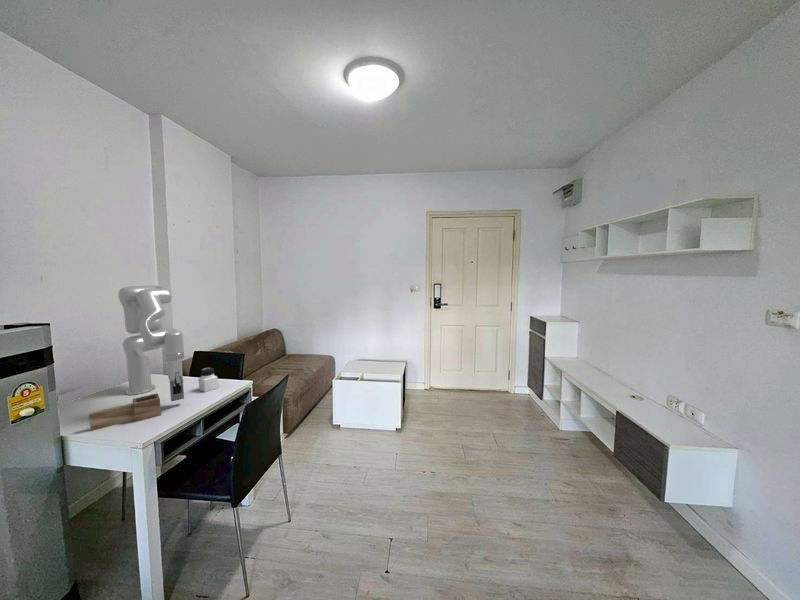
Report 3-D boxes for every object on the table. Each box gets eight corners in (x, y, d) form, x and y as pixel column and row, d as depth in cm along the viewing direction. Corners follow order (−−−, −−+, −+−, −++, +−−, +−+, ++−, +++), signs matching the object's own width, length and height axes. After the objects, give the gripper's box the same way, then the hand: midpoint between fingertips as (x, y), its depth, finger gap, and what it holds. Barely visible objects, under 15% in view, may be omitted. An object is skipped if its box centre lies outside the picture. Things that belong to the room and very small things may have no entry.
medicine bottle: (218, 388, 171) (217, 368, 170) (204, 392, 166) (203, 371, 165) (212, 385, 175) (211, 366, 174) (198, 389, 170) (197, 369, 168)
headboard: (91, 426, 129) (89, 408, 129) (158, 409, 145) (157, 393, 145) (90, 433, 123) (88, 415, 122) (161, 415, 139) (159, 398, 138)
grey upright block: (170, 399, 148) (169, 376, 147) (183, 396, 152) (181, 373, 150) (171, 401, 146) (170, 377, 145) (184, 398, 149) (182, 375, 148)
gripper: (162, 354, 150) (165, 389, 152) (167, 361, 138) (169, 399, 140) (181, 351, 155) (183, 385, 157) (187, 358, 143) (189, 395, 145)
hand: (176, 391), depth 148 cm, fingers closed on grey upright block, 3 cm apart
